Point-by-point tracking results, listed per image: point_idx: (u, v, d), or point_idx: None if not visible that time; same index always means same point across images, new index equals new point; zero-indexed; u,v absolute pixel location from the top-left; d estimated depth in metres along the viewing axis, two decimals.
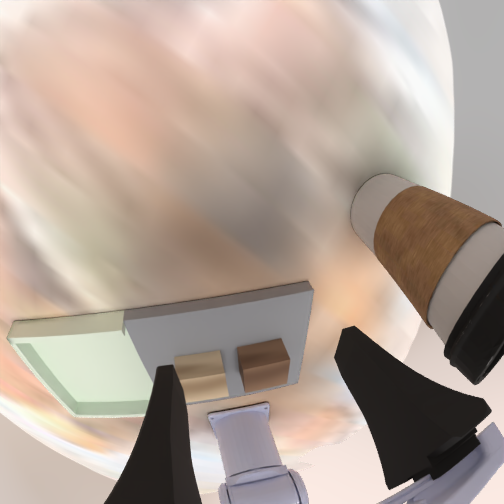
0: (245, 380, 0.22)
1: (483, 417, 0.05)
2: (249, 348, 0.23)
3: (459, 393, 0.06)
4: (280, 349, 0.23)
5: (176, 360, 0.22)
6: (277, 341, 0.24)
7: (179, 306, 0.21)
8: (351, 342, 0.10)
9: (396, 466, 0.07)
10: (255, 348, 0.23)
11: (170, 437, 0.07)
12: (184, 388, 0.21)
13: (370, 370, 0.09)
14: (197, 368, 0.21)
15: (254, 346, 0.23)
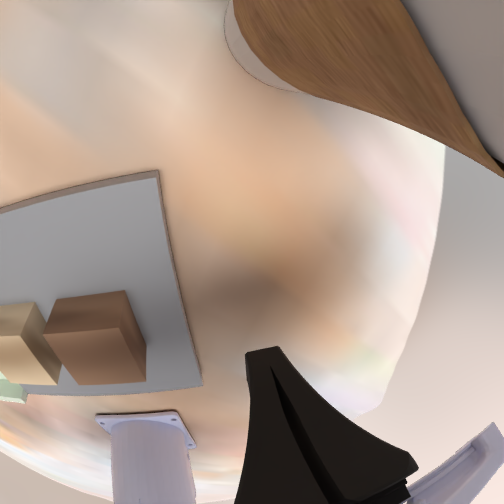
0: (60, 359, 0.10)
1: (398, 479, 0.04)
2: (69, 302, 0.11)
3: (379, 441, 0.06)
4: (112, 308, 0.11)
5: None
6: (115, 295, 0.12)
7: None
8: None
9: None
10: (77, 303, 0.11)
11: (284, 417, 0.07)
12: None
13: (283, 398, 0.09)
14: None
15: (78, 300, 0.12)
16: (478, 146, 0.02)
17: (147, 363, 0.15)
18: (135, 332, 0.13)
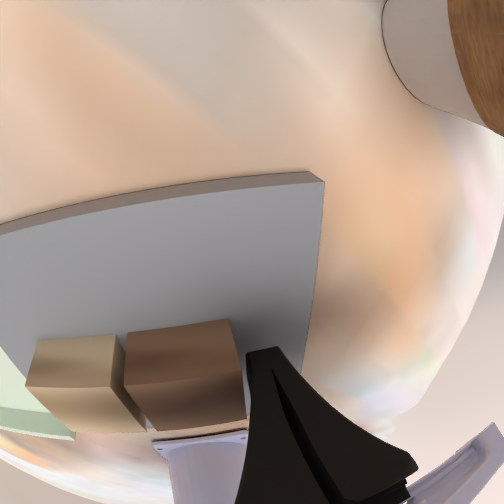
0: (143, 409, 0.09)
1: (398, 479, 0.04)
2: (151, 337, 0.10)
3: (379, 442, 0.06)
4: (221, 344, 0.09)
5: (39, 347, 0.09)
6: (217, 325, 0.10)
7: (21, 221, 0.07)
8: None
9: None
10: (164, 338, 0.10)
11: (285, 417, 0.07)
12: (49, 405, 0.08)
13: (283, 398, 0.09)
14: (63, 367, 0.08)
15: (163, 333, 0.10)
16: None
17: (247, 389, 0.14)
18: None
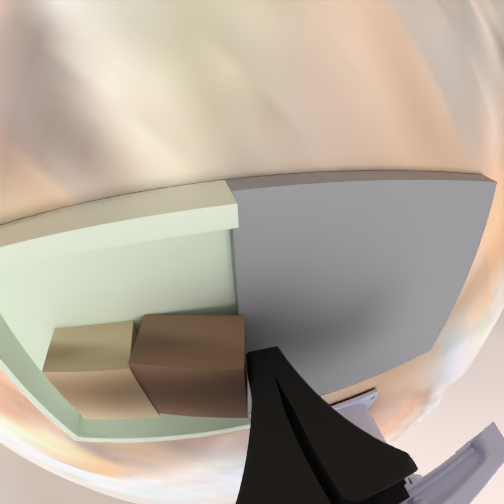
0: (145, 388, 0.09)
1: (397, 480, 0.04)
2: (166, 322, 0.10)
3: (378, 442, 0.06)
4: (230, 339, 0.10)
5: (55, 334, 0.10)
6: (232, 320, 0.10)
7: (349, 173, 0.10)
8: None
9: None
10: (178, 325, 0.10)
11: (286, 417, 0.07)
12: (65, 391, 0.09)
13: (282, 398, 0.09)
14: (82, 352, 0.09)
15: (178, 320, 0.10)
16: None
17: (420, 333, 0.16)
18: None
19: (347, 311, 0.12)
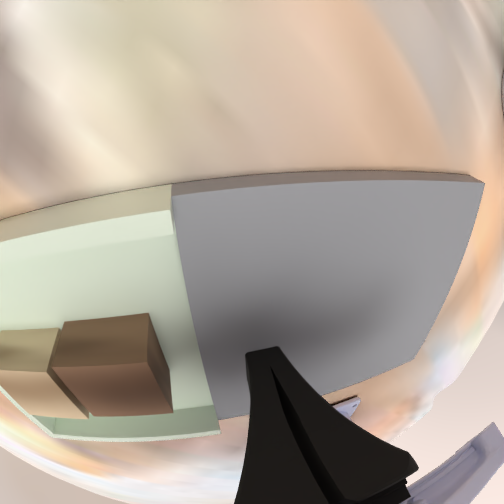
0: (73, 392, 0.09)
1: (398, 479, 0.04)
2: (81, 326, 0.10)
3: (379, 441, 0.06)
4: (135, 336, 0.09)
5: (0, 336, 0.09)
6: (137, 318, 0.10)
7: (308, 174, 0.09)
8: None
9: None
10: (91, 328, 0.10)
11: (284, 417, 0.07)
12: (6, 387, 0.08)
13: (283, 398, 0.09)
14: (15, 353, 0.08)
15: (91, 324, 0.10)
16: None
17: (400, 342, 0.16)
18: (160, 359, 0.11)
19: (312, 320, 0.12)
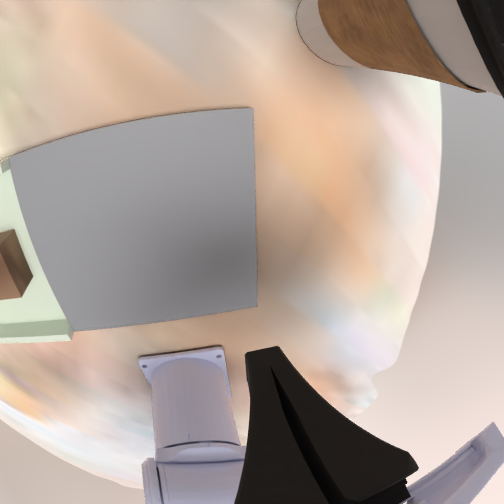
0: None
1: (398, 479, 0.04)
2: None
3: (379, 442, 0.06)
4: (2, 238, 0.13)
5: None
6: (8, 231, 0.14)
7: (71, 135, 0.13)
8: None
9: None
10: None
11: (284, 417, 0.07)
12: None
13: (283, 398, 0.09)
14: None
15: None
16: (443, 67, 0.06)
17: (214, 277, 0.19)
18: (19, 260, 0.14)
19: (95, 233, 0.15)
